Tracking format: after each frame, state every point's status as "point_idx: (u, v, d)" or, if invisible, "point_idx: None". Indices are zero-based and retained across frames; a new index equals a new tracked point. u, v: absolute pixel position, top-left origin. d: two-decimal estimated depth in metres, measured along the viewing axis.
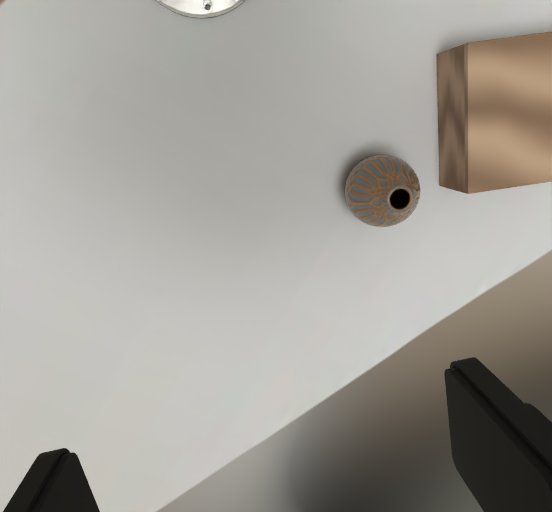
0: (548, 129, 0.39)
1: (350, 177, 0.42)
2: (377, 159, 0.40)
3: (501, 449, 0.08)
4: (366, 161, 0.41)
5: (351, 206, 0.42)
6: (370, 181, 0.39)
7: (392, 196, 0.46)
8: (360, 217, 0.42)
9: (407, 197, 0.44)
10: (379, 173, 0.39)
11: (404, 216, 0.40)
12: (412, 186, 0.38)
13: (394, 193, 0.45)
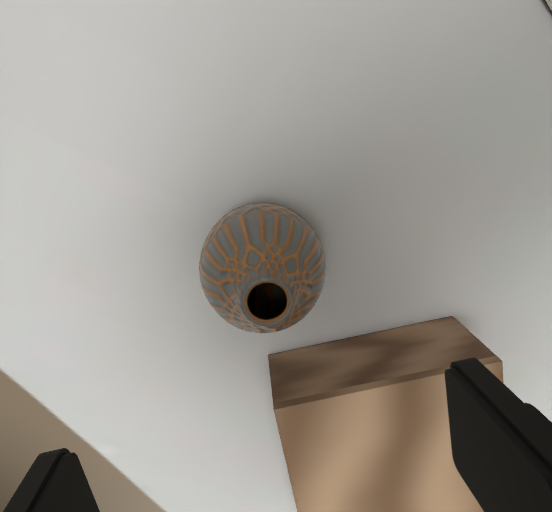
0: (376, 497, 0.26)
1: (283, 208, 0.23)
2: (321, 251, 0.23)
3: (501, 449, 0.08)
4: (314, 233, 0.23)
5: (233, 216, 0.22)
6: (288, 242, 0.21)
7: None
8: (214, 234, 0.22)
9: (251, 311, 0.26)
10: (304, 256, 0.21)
11: (228, 314, 0.21)
12: (287, 318, 0.21)
13: (252, 289, 0.27)
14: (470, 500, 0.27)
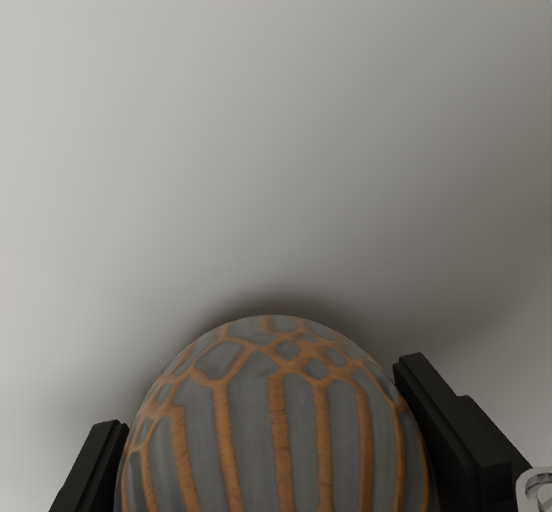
0: None
1: (329, 346, 0.09)
2: (431, 462, 0.09)
3: (433, 436, 0.09)
4: (406, 406, 0.09)
5: (199, 379, 0.08)
6: (365, 502, 0.07)
7: None
8: (147, 437, 0.08)
9: None
10: None
11: None
12: None
13: None
14: None
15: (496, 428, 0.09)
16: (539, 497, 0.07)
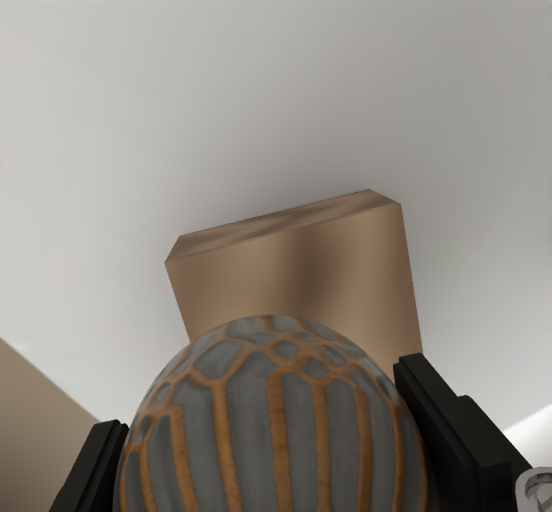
0: None
1: (328, 345, 0.09)
2: (430, 462, 0.09)
3: (432, 436, 0.09)
4: (405, 406, 0.09)
5: (198, 378, 0.08)
6: (364, 501, 0.07)
7: None
8: (146, 436, 0.08)
9: None
10: None
11: None
12: None
13: None
14: (384, 366, 0.26)
15: (496, 428, 0.09)
16: (539, 497, 0.07)
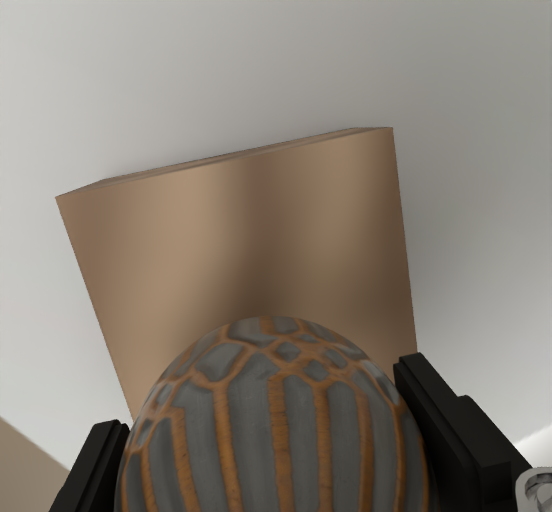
0: None
1: (329, 347, 0.09)
2: None
3: (432, 436, 0.09)
4: (406, 408, 0.09)
5: (199, 380, 0.08)
6: (365, 503, 0.07)
7: None
8: (147, 438, 0.08)
9: None
10: None
11: None
12: None
13: None
14: None
15: (496, 428, 0.09)
16: (539, 497, 0.07)
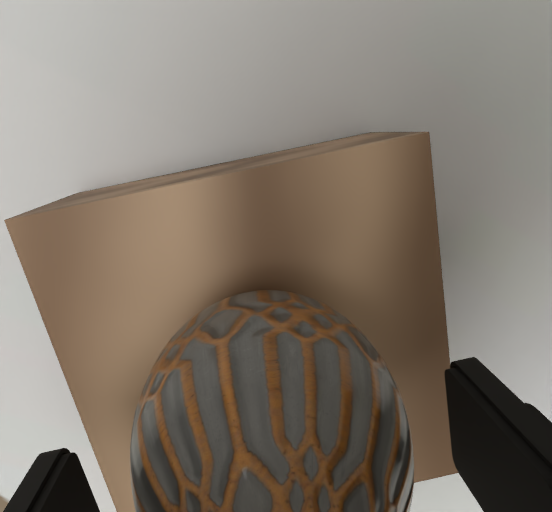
0: None
1: (317, 313, 0.10)
2: (405, 413, 0.10)
3: (501, 449, 0.08)
4: (385, 366, 0.11)
5: (204, 338, 0.10)
6: (344, 432, 0.08)
7: None
8: (160, 387, 0.09)
9: None
10: (384, 465, 0.08)
11: None
12: None
13: None
14: None
15: None
16: None
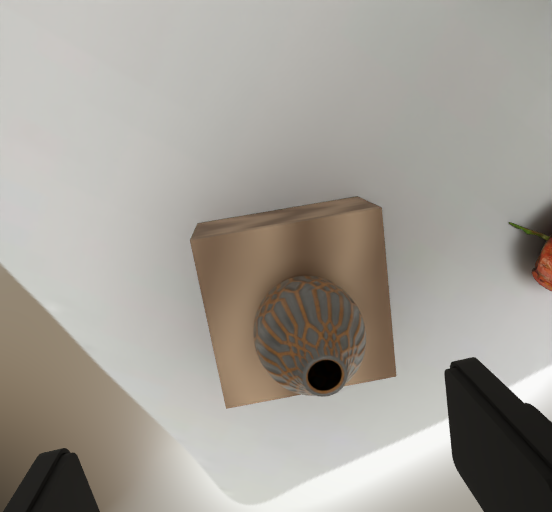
0: None
1: (330, 284, 0.26)
2: None
3: (501, 449, 0.08)
4: (356, 306, 0.26)
5: (288, 291, 0.25)
6: (340, 320, 0.24)
7: None
8: (272, 308, 0.25)
9: None
10: (353, 332, 0.24)
11: (284, 380, 0.24)
12: None
13: None
14: None
15: None
16: None
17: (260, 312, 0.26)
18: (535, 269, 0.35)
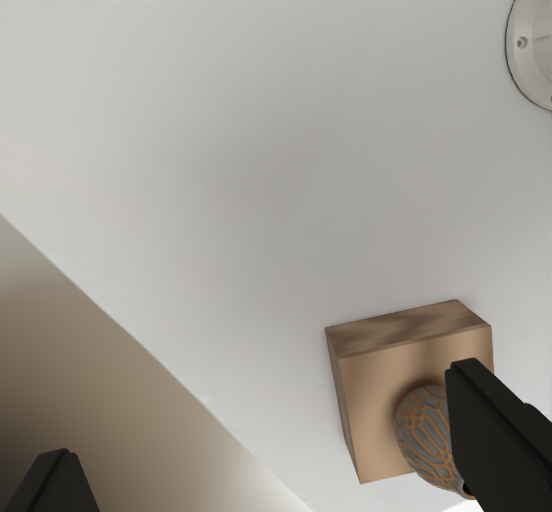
0: None
1: None
2: None
3: (501, 449, 0.08)
4: None
5: (430, 408, 0.32)
6: None
7: None
8: (420, 423, 0.32)
9: None
10: None
11: (435, 482, 0.31)
12: None
13: None
14: None
15: None
16: None
17: (406, 423, 0.33)
18: None
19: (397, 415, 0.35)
